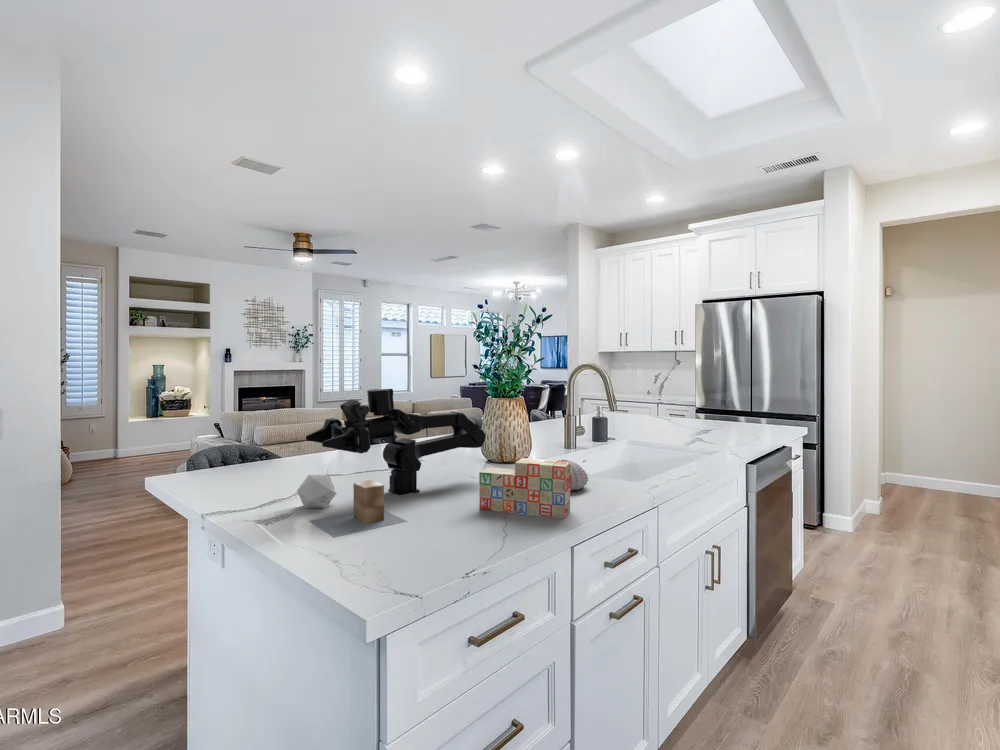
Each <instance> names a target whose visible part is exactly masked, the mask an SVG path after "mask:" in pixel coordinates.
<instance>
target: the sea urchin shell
mask: <svg viewBox="0 0 1000 750" xmlns="http://www.w3.org/2000/svg"><path fill="white" fill-rule="evenodd" d="M558 461H563V462H571V486H570V492H571V491H572V492H573V491H574V490H575V491H577V490H580V489H582V488H585V486H586V485H587V484H588V481H589V476H588V474H587V472H586V471H585V469H583V467H582V466H581V465H580V464H578V463H577V462H574V461H571V460H568V459H559V460H558Z"/></svg>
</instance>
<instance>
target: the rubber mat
mask: <svg viewBox="0 0 1000 750" xmlns="http://www.w3.org/2000/svg"><path fill="white" fill-rule="evenodd" d="M308 522H310V523H311V524H312V525H314V526H315V527H316V528H318V529H320V530H322V531H324V532H325V533H326V534H328V535H329V536H331V537H333V538H337V537H341V536H347V535H352V534H355V533H360V532H361V533H362V532H365V531H369V530H375V529H380V528H384V527H390V526H395V525H397V524H398V525H399V524H403V523H407V522H409V521H408V520H406V519H404V518H402V517H400V516H398V515H395V514H393V513H391V512H388V511H387V510H385V509H384V520H383V521H378V522H373V523H368V524H364V523H362V522H361V521H359V520H357V519H355V518H354V511H352V512H349V513H344V514H338V515H333V516H328V517H327V516H326V517H322V518H318V519H312V520H309V521H308Z"/></svg>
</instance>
